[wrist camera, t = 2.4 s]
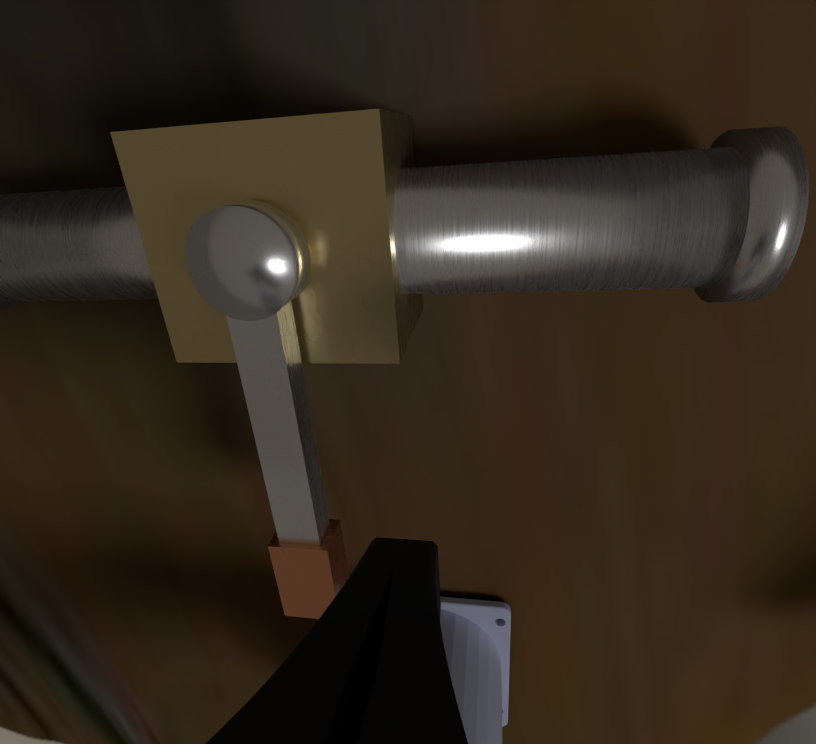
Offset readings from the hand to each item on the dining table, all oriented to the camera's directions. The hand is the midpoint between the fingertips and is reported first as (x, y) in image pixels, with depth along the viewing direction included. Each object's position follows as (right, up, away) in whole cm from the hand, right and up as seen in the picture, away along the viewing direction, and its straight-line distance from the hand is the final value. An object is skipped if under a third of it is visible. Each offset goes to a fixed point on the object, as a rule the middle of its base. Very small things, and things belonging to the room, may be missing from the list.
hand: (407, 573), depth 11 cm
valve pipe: (-3, +10, +7) cm, 12 cm away
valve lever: (-4, +3, +5) cm, 6 cm away
